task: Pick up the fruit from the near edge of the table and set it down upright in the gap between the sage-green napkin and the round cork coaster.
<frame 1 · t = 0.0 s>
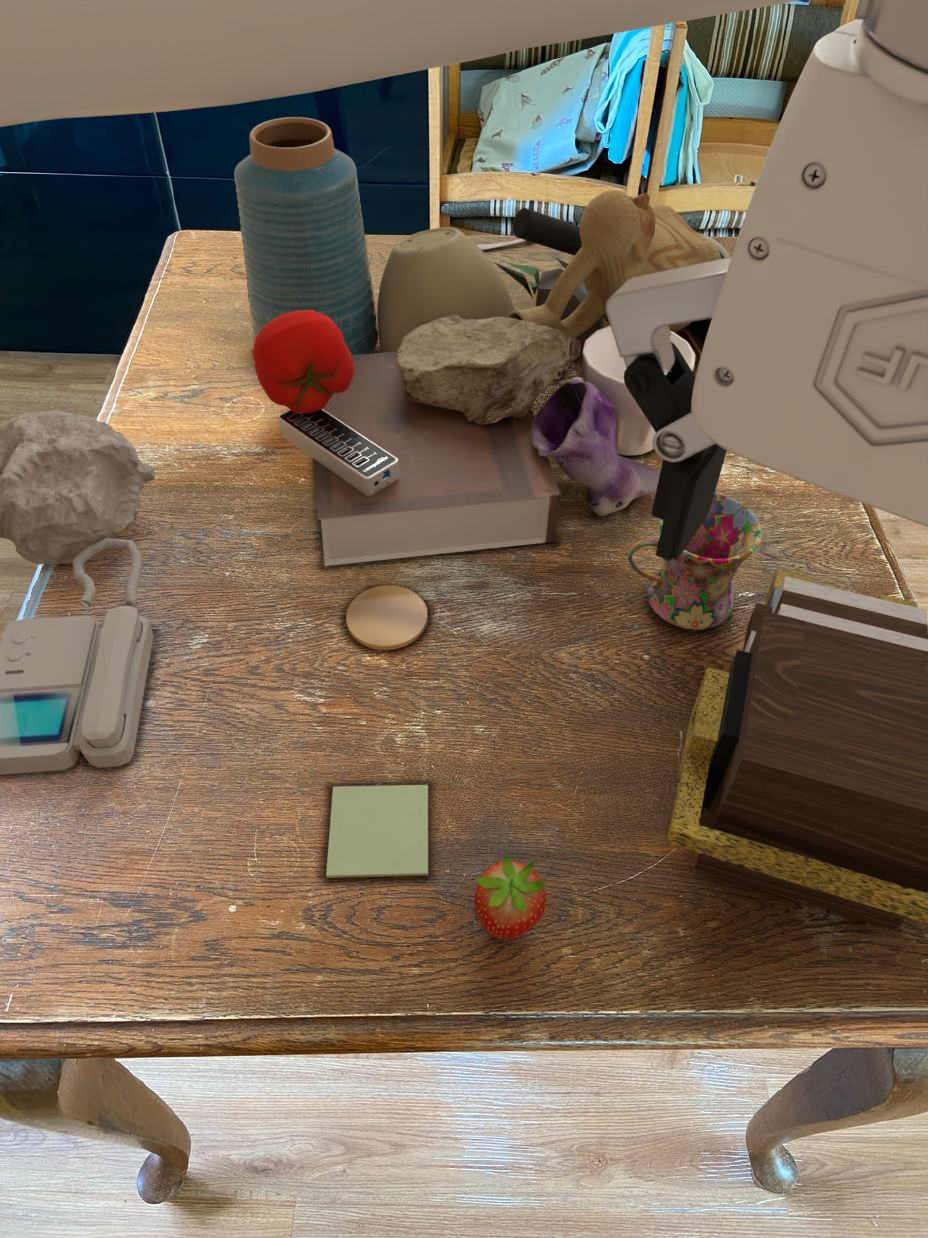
hand: (814, 591, 30), 45 cm above the table, tool pointing down, fingers open, 9 cm apart
brown wooden box: (840, 596, 82), point 6 cm above the table
succulent plant: (549, 314, 126), on the table, touching flashlight
flower pot: (425, 236, 111), point 14 cm above the table, touching glasses
multiport hub: (338, 456, 95), point 7 cm above the table, touching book, tomato
knife: (508, 247, 138), point 1 cm above the table
rock: (407, 384, 104), point 6 cm above the table, touching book
intercom: (97, 543, 92), point 3 cm above the table
ceramic vessel: (672, 280, 117), point 8 cm above the table, touching glasses, loafer
cup: (624, 435, 108), on the table, touching glasses
figurine: (553, 418, 94), point 10 cm above the table, touching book
mug: (674, 605, 91), on the table
vase: (318, 346, 120), on the table
napkin: (379, 830, 74), on the table
fruit: (507, 924, 69), on the table
coaster: (387, 618, 89), on the table
tomato: (292, 338, 93), point 16 cm above the table, touching multiport hub
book: (424, 469, 104), on the table, touching figurine, rock, multiport hub
stone: (93, 420, 91), point 11 cm above the table
flashlight: (589, 225, 124), point 9 cm above the table, touching succulent plant
glasses: (565, 325, 112), point 6 cm above the table, touching ceramic vessel, cup, flower pot
loafer: (740, 299, 119), point 5 cm above the table, touching ceramic vessel
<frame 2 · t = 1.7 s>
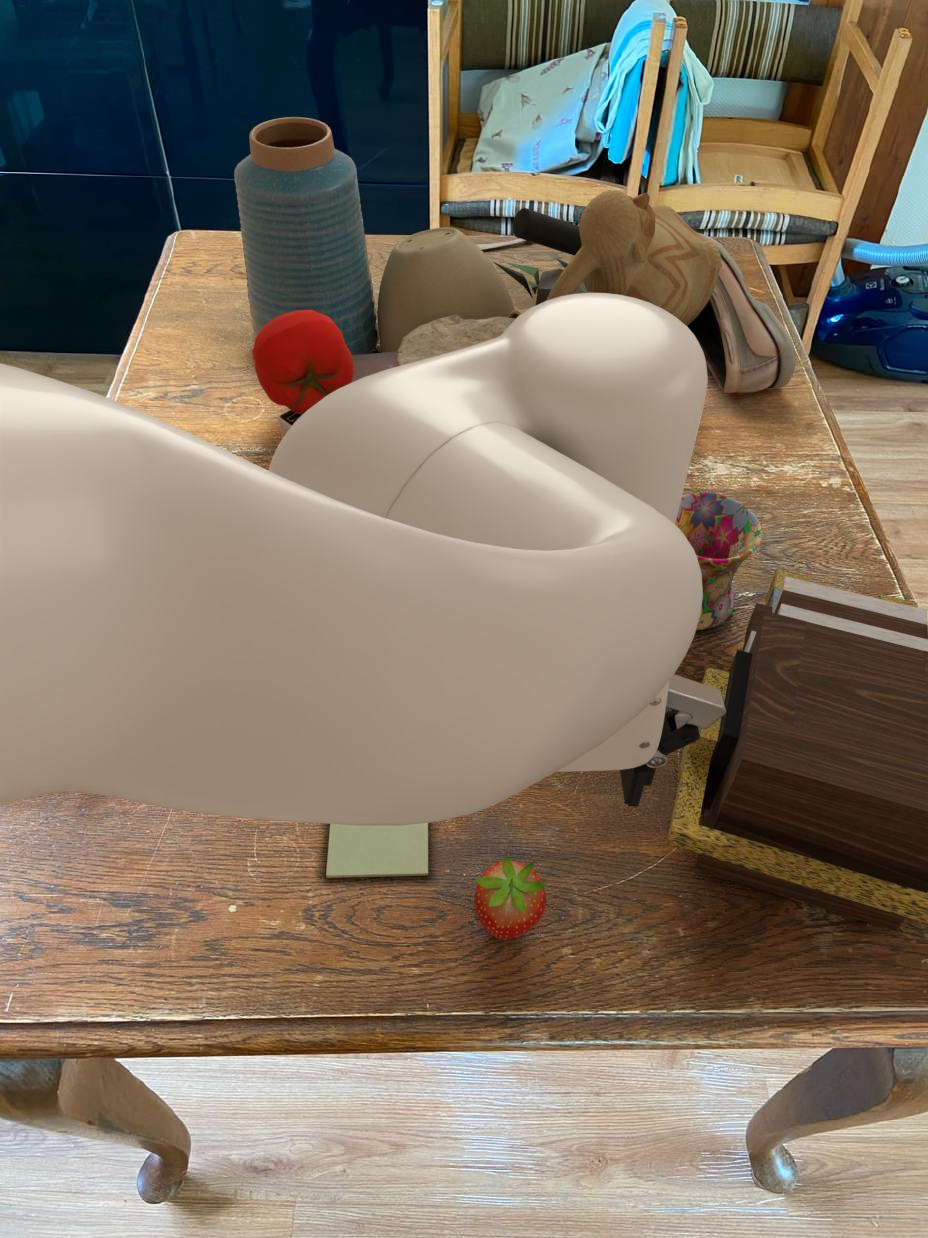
hand: (544, 785, 52), 21 cm above the table, tool pointing down, fingers open, 9 cm apart
succulent plant: (549, 314, 126), on the table, touching ceramic vessel, flashlight
ceramic vessel: (672, 280, 117), point 8 cm above the table, touching glasses, loafer, succulent plant
everything else where it was.
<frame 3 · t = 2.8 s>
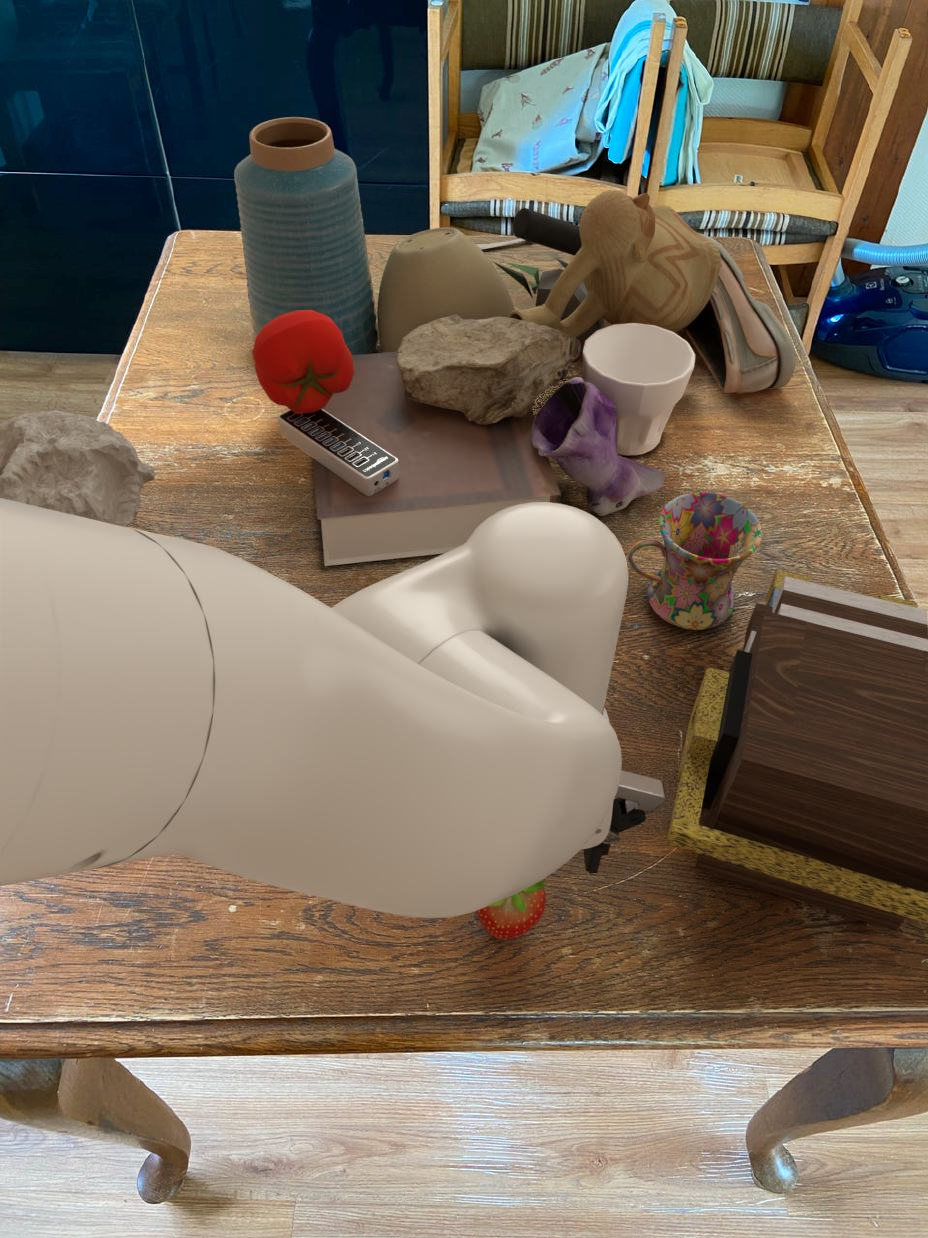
hand: (517, 855, 61), 11 cm above the table, tool pointing down, fingers open, 9 cm apart
nothing on the table moved.
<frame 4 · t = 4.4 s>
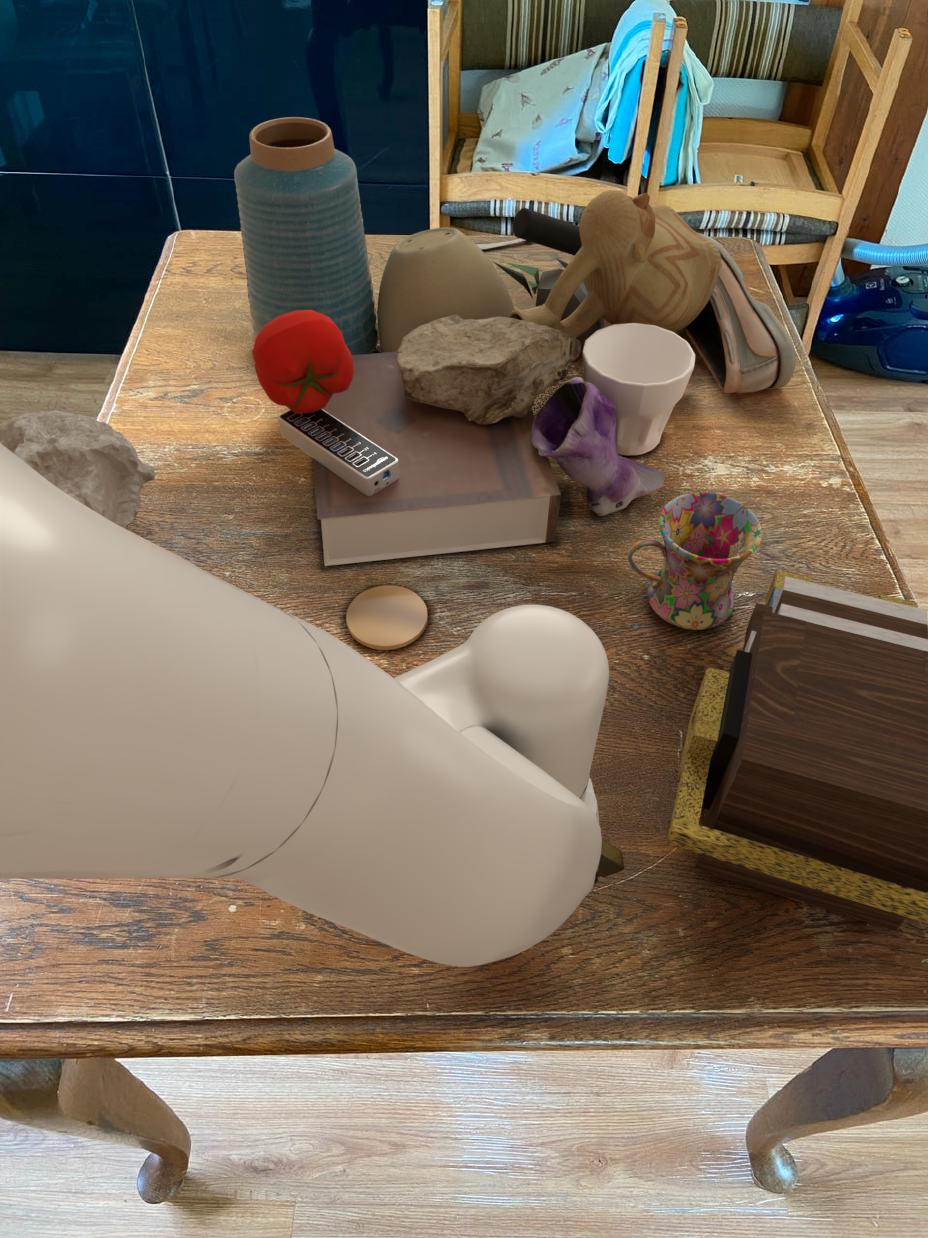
hand: (509, 907, 67), 3 cm above the table, tool pointing down, fingers closed on fruit, 5 cm apart
fruit: (507, 924, 69), on the table, touching gripper
everything else where it was.
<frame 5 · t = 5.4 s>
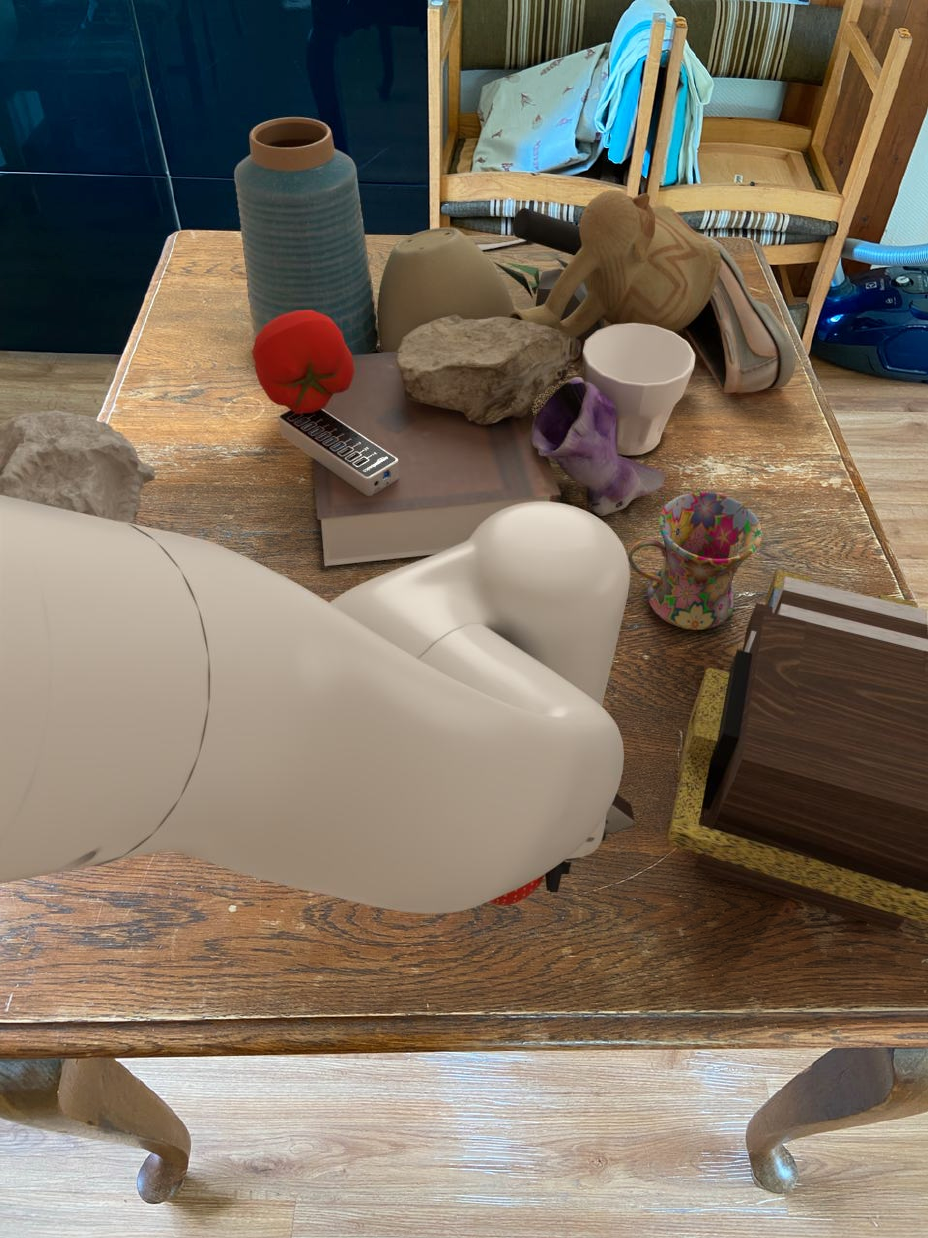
hand: (507, 871, 61), 10 cm above the table, tool pointing down, fingers closed on fruit, 5 cm apart
fruit: (504, 892, 63), point 7 cm above the table, touching gripper
everything else where it was.
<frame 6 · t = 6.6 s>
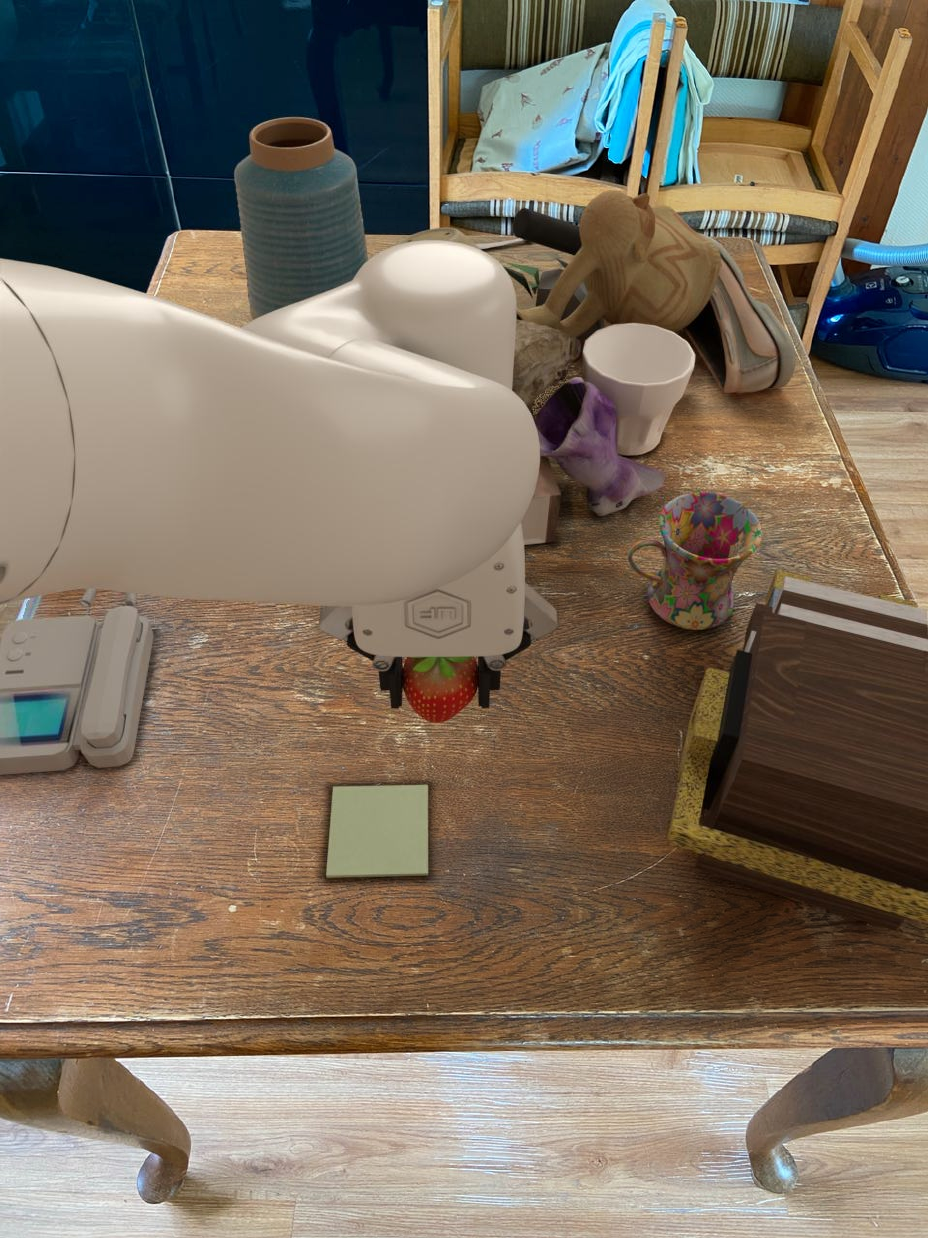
hand: (440, 689, 62), 17 cm above the table, tool pointing down, fingers closed on fruit, 5 cm apart
fruit: (440, 716, 64), point 14 cm above the table, touching gripper
everything else where it was.
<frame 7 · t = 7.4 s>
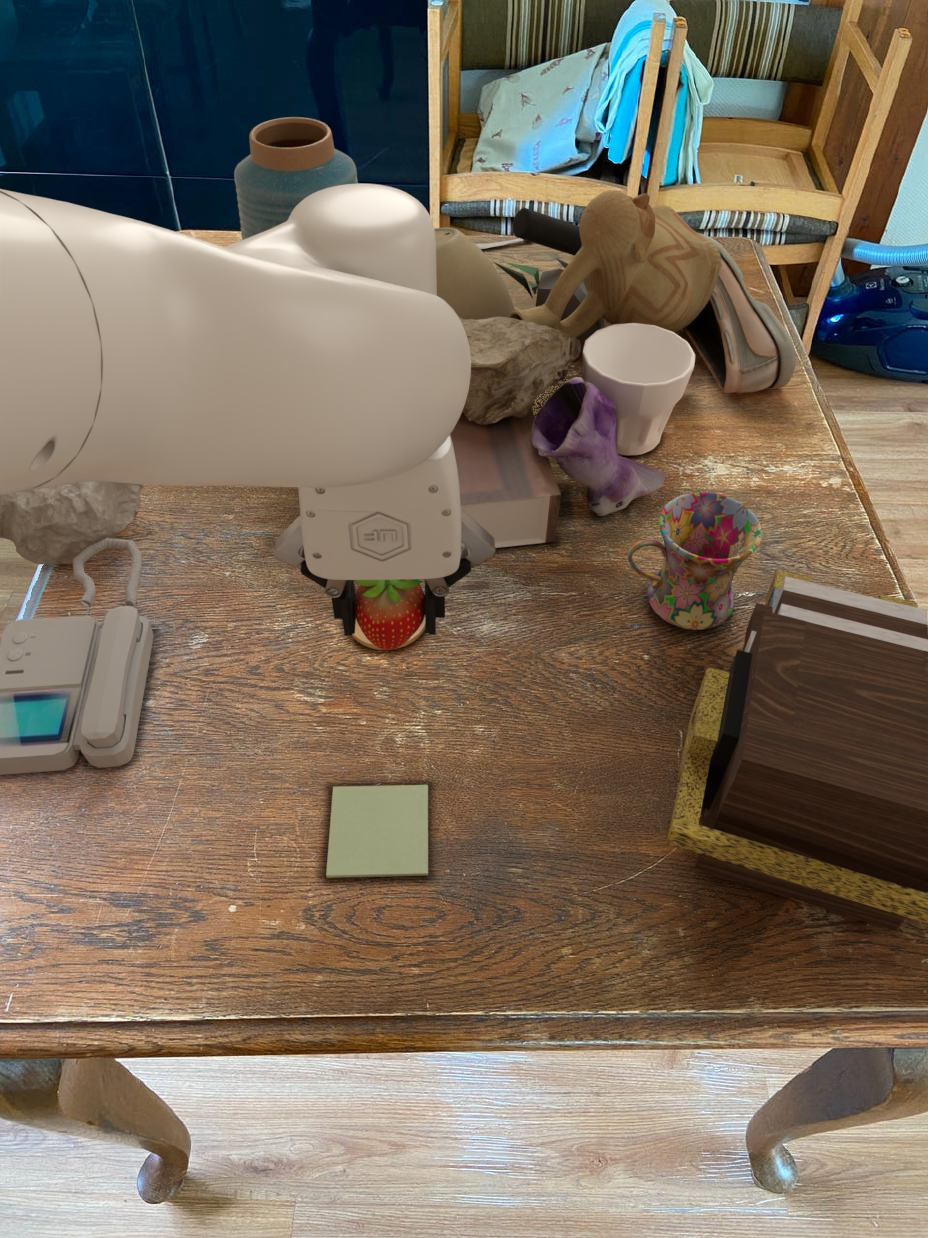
hand: (390, 618, 66), 17 cm above the table, tool pointing down, fingers closed on fruit, 5 cm apart
fruit: (393, 645, 69), point 14 cm above the table, touching gripper
everything else where it was.
when the fingers open (3 cm above the table, at t = 11.3 s): fruit stays where it is, on the table.
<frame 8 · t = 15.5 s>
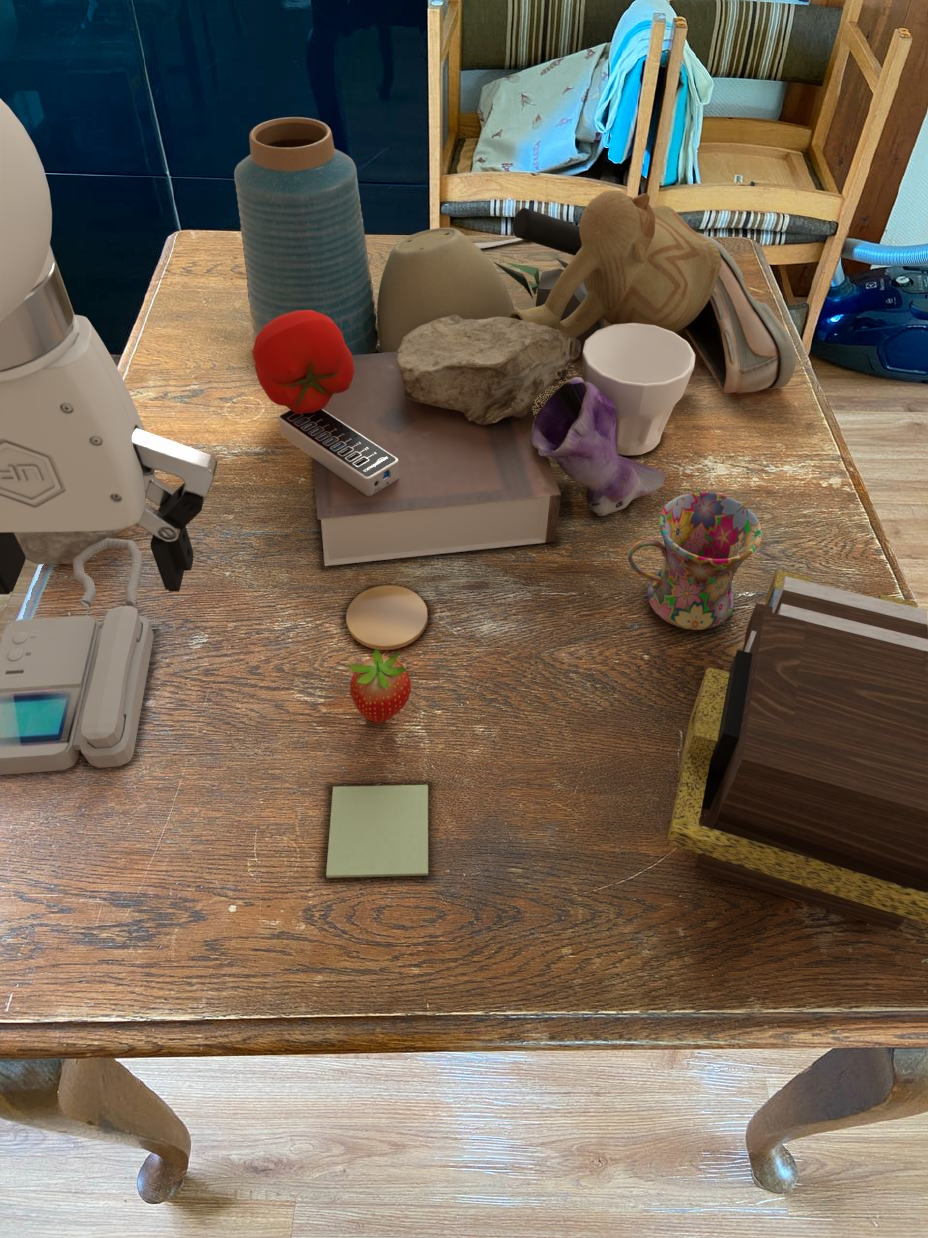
hand: (95, 575, 54), 28 cm above the table, tool pointing down, fingers open, 9 cm apart
fruit: (383, 717, 82), on the table
everything else where it was.
at the end: fruit inside the target area on the table beside the coaster (0.1 cm from its centre), on the table; fruit inside the target area on the table beside the napkin (0.1 cm from its centre), on the table; fruit tilted 0° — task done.
